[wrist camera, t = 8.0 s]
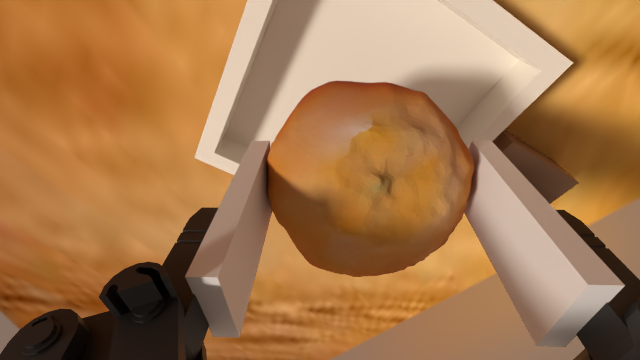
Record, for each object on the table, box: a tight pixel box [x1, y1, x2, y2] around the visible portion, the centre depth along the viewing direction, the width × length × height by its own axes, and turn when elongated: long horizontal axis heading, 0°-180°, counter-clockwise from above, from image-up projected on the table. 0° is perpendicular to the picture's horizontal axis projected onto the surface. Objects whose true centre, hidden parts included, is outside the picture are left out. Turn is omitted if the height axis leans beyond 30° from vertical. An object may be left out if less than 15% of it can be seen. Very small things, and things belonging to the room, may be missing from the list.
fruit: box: [267, 81, 475, 277], centre depth 13 cm, size 8×8×8 cm
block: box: [492, 130, 578, 204], centre depth 16 cm, size 16×6×4 cm, turn 151°
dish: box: [194, 0, 573, 175], centre depth 18 cm, size 15×15×3 cm
